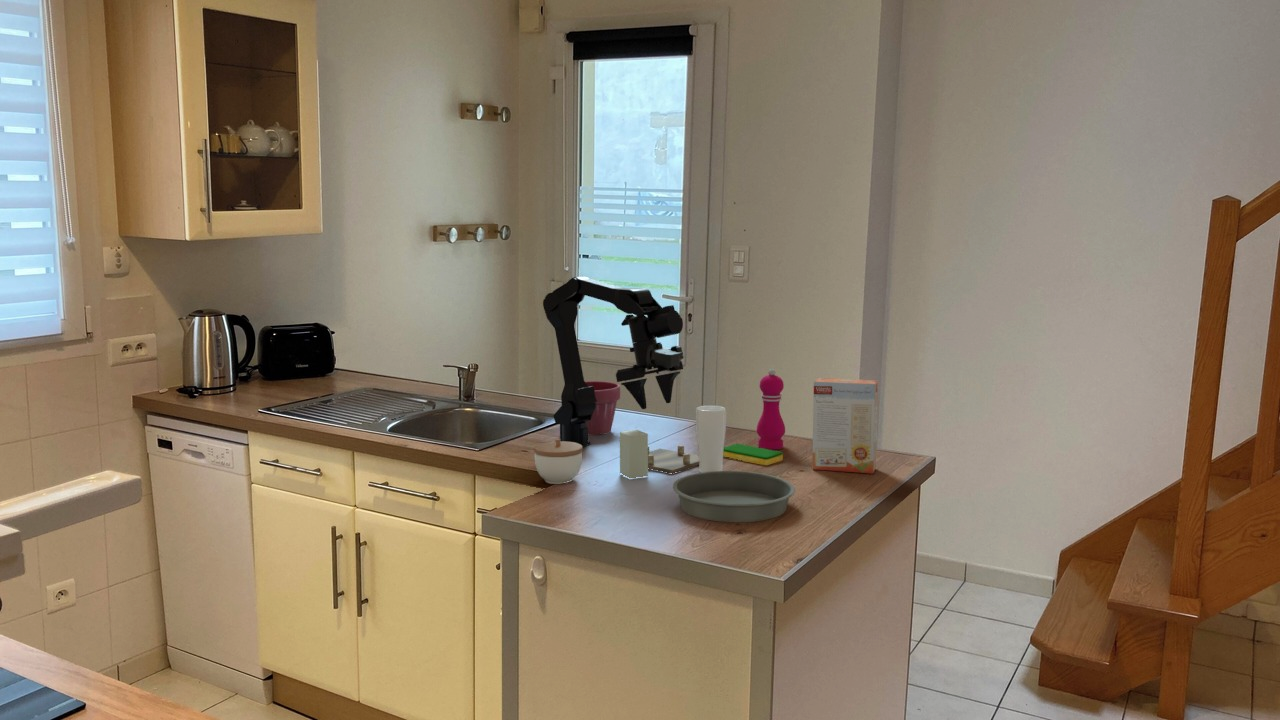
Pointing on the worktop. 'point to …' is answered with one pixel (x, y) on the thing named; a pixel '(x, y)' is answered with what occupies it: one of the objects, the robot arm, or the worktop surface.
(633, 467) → the sage block
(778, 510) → the cake pan
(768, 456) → the dish sponge
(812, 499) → the worktop surface
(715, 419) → the drinking glass
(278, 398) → the worktop surface
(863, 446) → the cracker box
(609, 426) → the plant pot
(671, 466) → the peg stand
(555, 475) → the lidded jar
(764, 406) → the pepper mill
